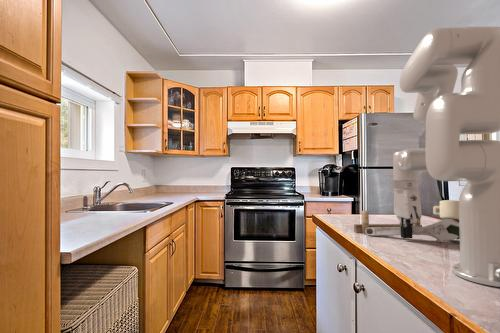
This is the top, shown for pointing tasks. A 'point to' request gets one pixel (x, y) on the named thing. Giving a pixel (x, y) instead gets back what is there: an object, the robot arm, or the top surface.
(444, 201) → the character mug
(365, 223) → the peg rack
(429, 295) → the top surface
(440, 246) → the top surface
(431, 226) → the wrench
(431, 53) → the robot arm
